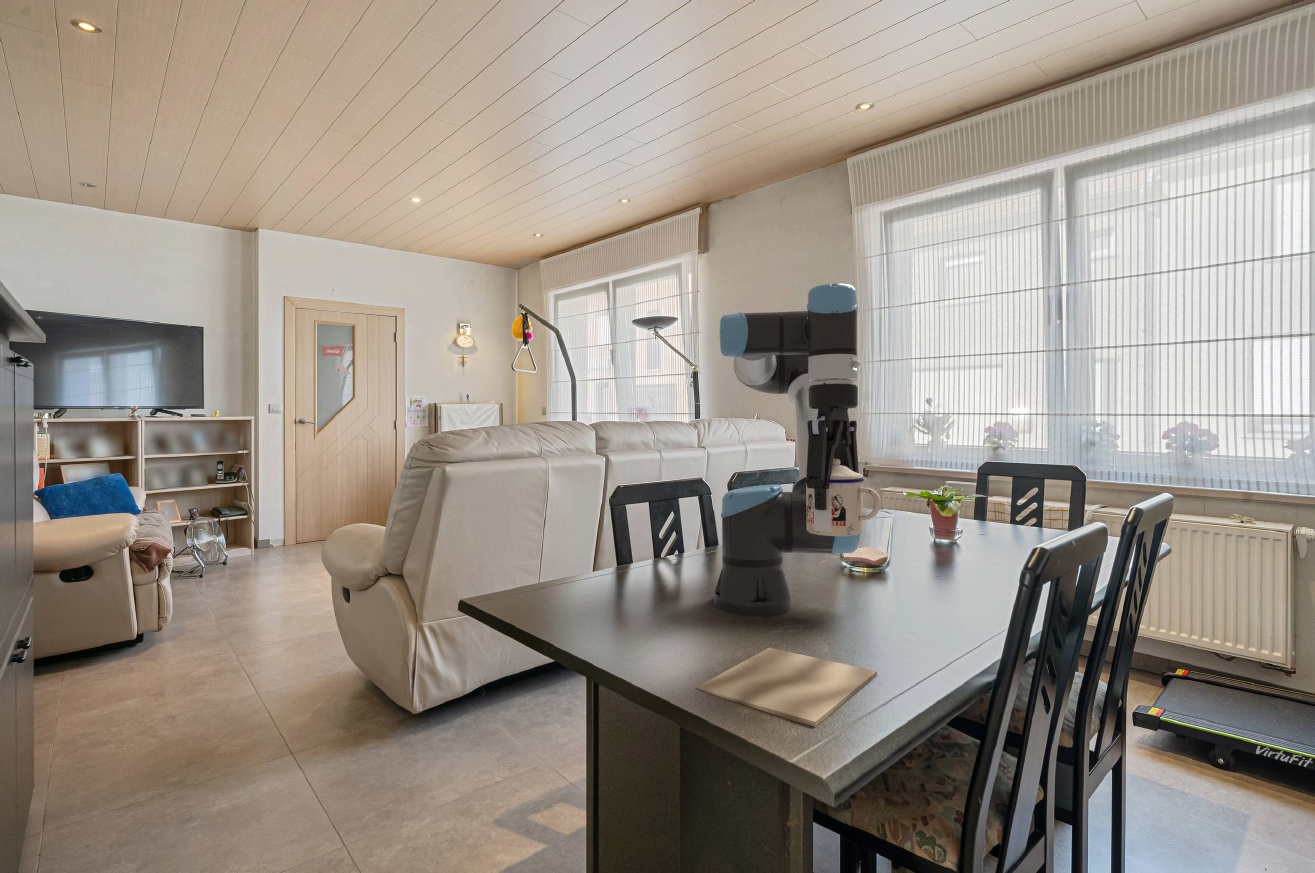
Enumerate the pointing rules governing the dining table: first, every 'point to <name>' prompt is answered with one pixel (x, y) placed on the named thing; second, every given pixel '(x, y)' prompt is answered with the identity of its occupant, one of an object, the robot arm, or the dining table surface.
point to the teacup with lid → (843, 502)
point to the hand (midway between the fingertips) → (834, 527)
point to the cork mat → (790, 685)
